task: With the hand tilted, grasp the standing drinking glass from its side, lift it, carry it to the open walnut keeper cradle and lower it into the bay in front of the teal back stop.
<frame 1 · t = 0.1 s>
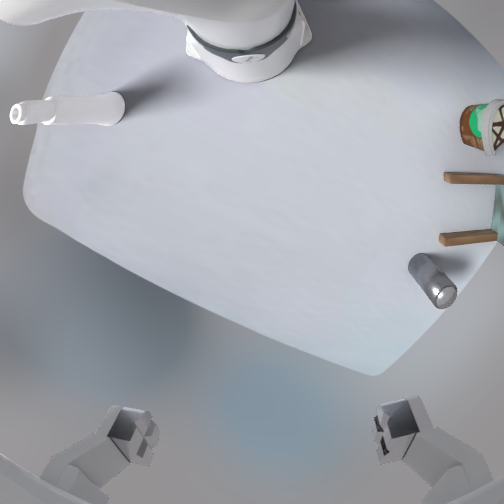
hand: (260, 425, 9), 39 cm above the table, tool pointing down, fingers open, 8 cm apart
food container: (470, 116, 35), on the table
keeper cradle: (473, 206, 42), on the table
cosmetic bottle: (110, 108, 39), on the table
drinking glass: (418, 264, 48), on the table
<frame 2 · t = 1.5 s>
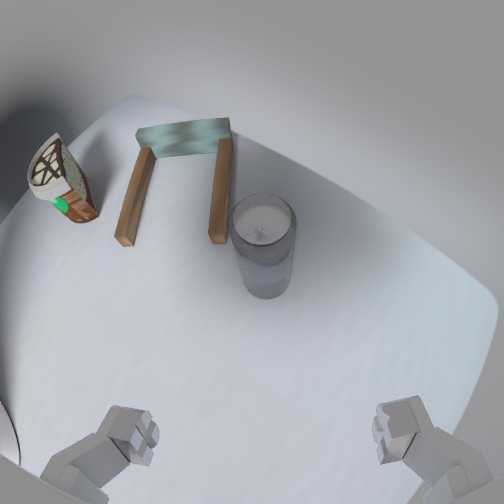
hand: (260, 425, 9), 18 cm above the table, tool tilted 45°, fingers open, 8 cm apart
food container: (77, 207, 37), on the table
keeper cradle: (180, 190, 36), on the table
drinking glass: (266, 277, 30), on the table
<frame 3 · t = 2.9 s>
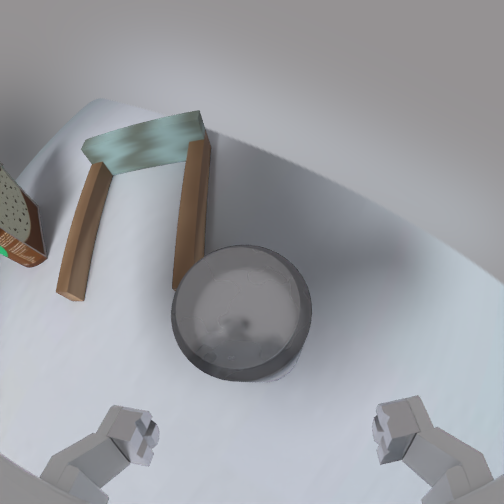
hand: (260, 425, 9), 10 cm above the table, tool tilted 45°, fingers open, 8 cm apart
food container: (27, 245, 27), on the table
keeper cradle: (140, 218, 26), on the table
drinking glass: (264, 348, 19), on the table
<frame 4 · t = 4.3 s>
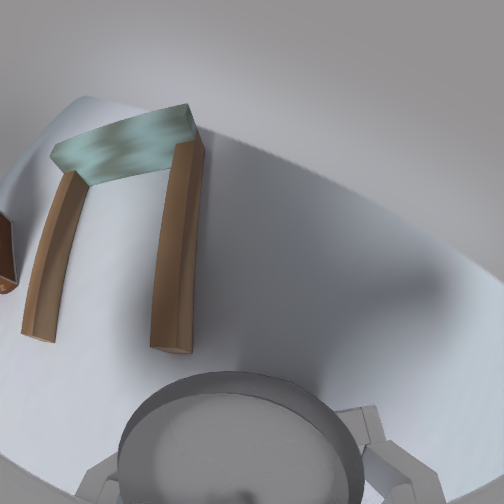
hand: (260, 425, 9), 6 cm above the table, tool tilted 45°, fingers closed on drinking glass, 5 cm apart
food container: (0, 267, 22), on the table
keeper cradle: (116, 241, 20), on the table
drinking glass: (272, 421, 14), on the table, touching gripper
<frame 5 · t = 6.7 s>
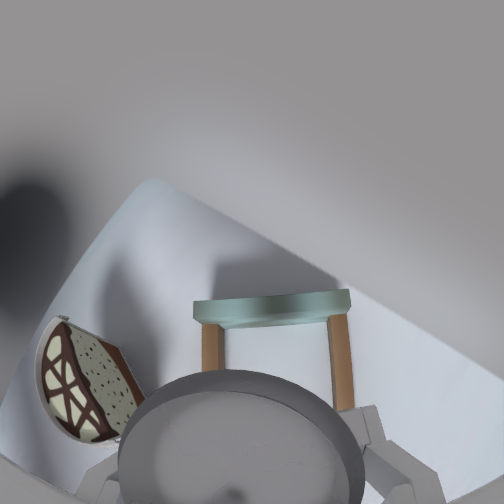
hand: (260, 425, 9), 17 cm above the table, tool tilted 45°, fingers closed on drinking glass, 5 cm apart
food container: (119, 395, 26), on the table
keeper cradle: (278, 392, 24), on the table
drinking glass: (273, 420, 14), point 11 cm above the table, touching gripper
when the fingers open (7 cm above the table, at t = 9.1 s): drinking glass stays where it is, resting in keeper cradle.
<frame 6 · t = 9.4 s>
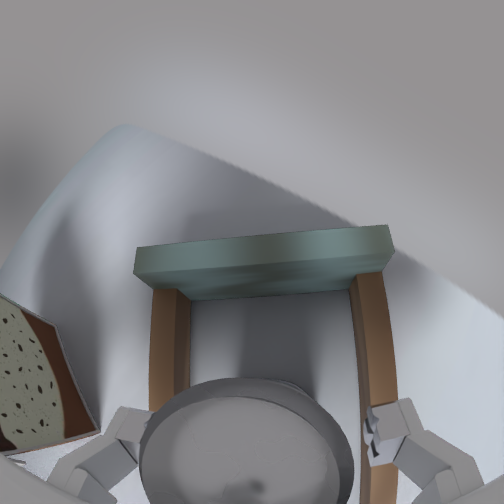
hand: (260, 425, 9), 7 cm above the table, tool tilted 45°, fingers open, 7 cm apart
food container: (54, 392, 17), on the table
keeper cradle: (273, 402, 15), on the table
drinking glass: (273, 418, 14), resting in keeper cradle
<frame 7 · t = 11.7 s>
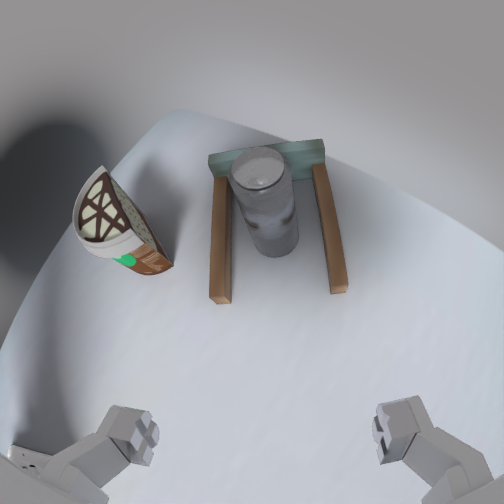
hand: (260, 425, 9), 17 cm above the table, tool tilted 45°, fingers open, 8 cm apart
food container: (139, 254, 34), on the table
keeper cradle: (275, 228, 32), on the table
drinking glass: (276, 237, 31), resting in keeper cradle
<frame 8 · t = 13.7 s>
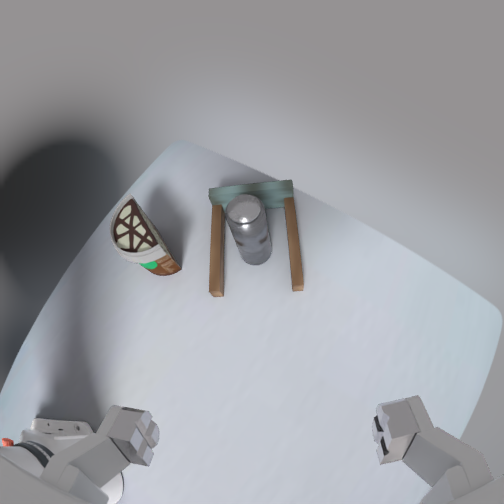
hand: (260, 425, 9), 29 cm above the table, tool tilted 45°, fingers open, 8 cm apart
food container: (154, 259, 47), on the table
keeper cradle: (255, 244, 45), on the table
drinking glass: (255, 250, 45), resting in keeper cradle
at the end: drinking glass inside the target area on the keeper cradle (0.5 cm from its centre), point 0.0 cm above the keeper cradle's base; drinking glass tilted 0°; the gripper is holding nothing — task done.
